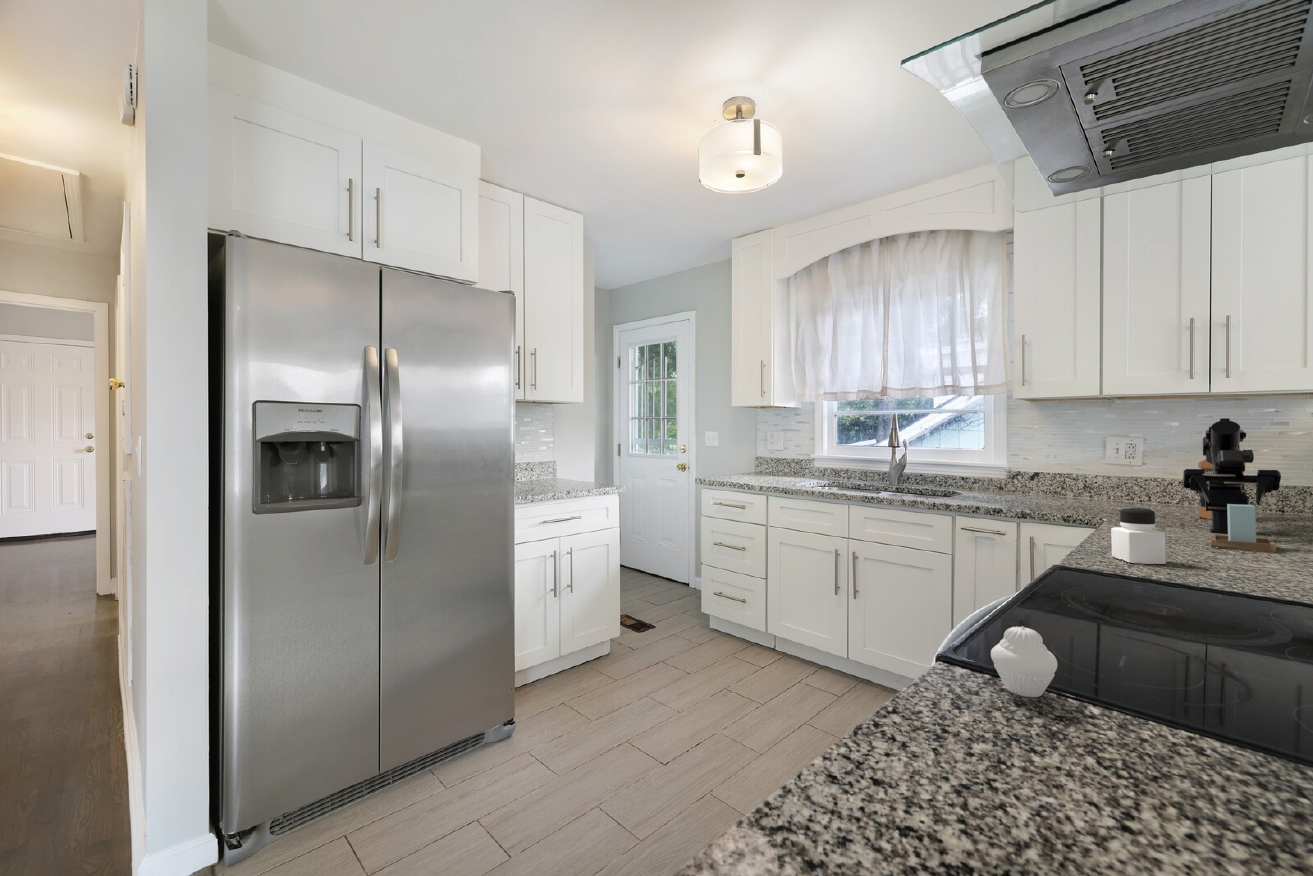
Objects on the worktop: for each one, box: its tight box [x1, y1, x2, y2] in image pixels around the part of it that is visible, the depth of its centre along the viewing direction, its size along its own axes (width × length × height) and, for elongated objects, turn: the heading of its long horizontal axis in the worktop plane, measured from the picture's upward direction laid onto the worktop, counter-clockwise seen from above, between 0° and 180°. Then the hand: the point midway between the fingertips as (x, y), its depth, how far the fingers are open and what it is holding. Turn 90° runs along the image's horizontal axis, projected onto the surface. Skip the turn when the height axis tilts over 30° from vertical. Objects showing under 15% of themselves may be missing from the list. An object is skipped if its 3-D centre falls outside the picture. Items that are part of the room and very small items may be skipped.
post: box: [1227, 504, 1257, 543], centre depth 146 cm, size 4×4×10 cm
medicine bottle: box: [1110, 507, 1167, 564], centre depth 130 cm, size 7×7×12 cm
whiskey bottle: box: [1198, 458, 1246, 518], centre depth 199 cm, size 10×10×32 cm
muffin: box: [990, 625, 1058, 698], centre depth 62 cm, size 6×6×7 cm
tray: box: [1210, 534, 1277, 554], centre depth 146 cm, size 11×11×2 cm
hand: (1233, 502), depth 153 cm, fingers open, 9 cm apart
